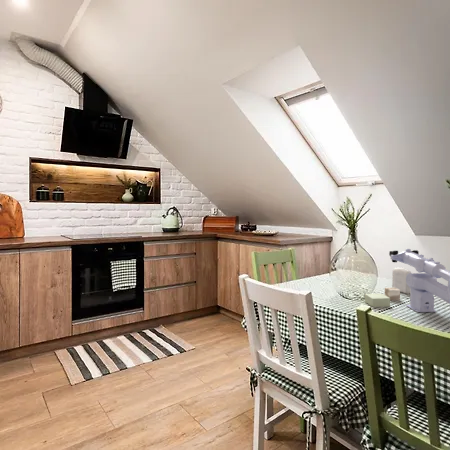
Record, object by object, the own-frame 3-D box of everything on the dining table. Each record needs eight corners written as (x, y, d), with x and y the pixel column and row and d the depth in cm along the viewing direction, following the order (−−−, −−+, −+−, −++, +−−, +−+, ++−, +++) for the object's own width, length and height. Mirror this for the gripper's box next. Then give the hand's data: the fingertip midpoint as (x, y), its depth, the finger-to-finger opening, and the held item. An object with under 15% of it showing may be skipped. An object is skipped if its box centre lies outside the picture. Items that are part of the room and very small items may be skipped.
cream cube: (400, 300, 166) (400, 290, 166) (389, 300, 166) (389, 290, 166) (394, 297, 171) (394, 287, 171) (384, 297, 171) (384, 287, 171)
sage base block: (390, 307, 156) (390, 298, 156) (372, 307, 156) (372, 298, 156) (381, 302, 164) (381, 293, 164) (364, 302, 164) (364, 293, 164)
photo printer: (412, 293, 178) (413, 269, 178) (406, 293, 177) (406, 269, 176) (397, 288, 188) (397, 265, 188) (390, 289, 187) (391, 266, 186)
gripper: (430, 250, 156) (413, 244, 170) (397, 251, 156) (383, 245, 170) (428, 266, 157) (412, 258, 171) (397, 266, 157) (382, 259, 171)
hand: (397, 253), depth 170 cm, fingers open, 7 cm apart
